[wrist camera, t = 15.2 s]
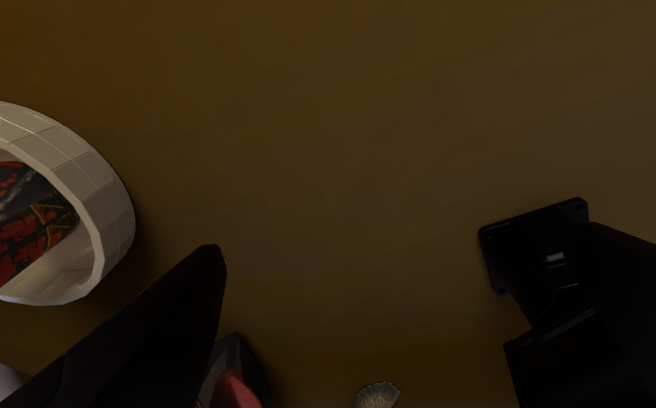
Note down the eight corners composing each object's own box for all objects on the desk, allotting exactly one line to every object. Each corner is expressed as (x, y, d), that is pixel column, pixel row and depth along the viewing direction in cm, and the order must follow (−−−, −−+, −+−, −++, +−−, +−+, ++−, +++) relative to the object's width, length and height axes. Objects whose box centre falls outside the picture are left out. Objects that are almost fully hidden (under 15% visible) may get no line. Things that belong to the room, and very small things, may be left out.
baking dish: (164, 391, 37) (126, 509, 29) (73, 305, 26) (-30, 458, 18) (285, 380, 36) (279, 495, 29) (246, 287, 25) (219, 435, 17)
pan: (174, 239, 23) (148, 272, 20) (49, 289, 26) (10, 324, 23) (19, 58, 17) (-51, 66, 14) (-117, 152, 20) (-199, 175, 17)
